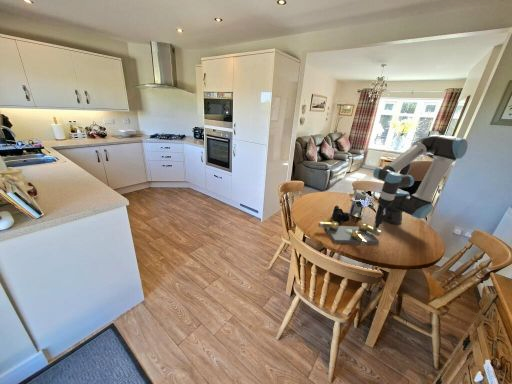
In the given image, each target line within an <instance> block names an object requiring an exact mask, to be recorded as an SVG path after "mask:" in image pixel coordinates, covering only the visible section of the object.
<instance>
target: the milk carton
mask: <svg viewBox="0 0 512 384" xmlns="http://www.w3.org/2000/svg"><path fill="white" fill-rule="evenodd" d="M366 194H367V193H366V192H365V191H364V190H362V191H361V190H359V189H355V193H354V196H353V199H354V198H355V200H360V199H361V200H364V201H366V199H367V195H366ZM363 208H364V206H363V207H358V206H357V204H356V203H355V201H353V200H352V203H351V207H350V210H349V215H350V217H352V216H353V215H354V214H356V213H359V214H360V216H362V211H363Z"/></svg>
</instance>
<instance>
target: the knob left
mask: <svg viewBox="0 0 512 384" xmlns="http://www.w3.org/2000/svg"><path fill="white" fill-rule="evenodd" d="M351 237H352V238H353V239H356V240H358V241H359V242H360V243H359V244H360V245H361V246H362V247H366V246H367V245H368V244H367V241H366V240H365V239H364V238H363V237H362V236H361V232H360V231H359V230H355V229H354V230H352V233H351Z"/></svg>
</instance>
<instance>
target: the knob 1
mask: <svg viewBox="0 0 512 384" xmlns="http://www.w3.org/2000/svg"><path fill="white" fill-rule="evenodd" d="M318 223H319V224H318V227H319V228H323V229H325V228H330V229H331V230H333V231H337V230H338V227H339V223H338V222H335V221H334V220H332V221H331V222H327V221H319V222H318Z"/></svg>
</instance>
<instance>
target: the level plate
mask: <svg viewBox="0 0 512 384" xmlns="http://www.w3.org/2000/svg"><path fill="white" fill-rule="evenodd" d="M324 229H325V231H326V232H327V234H328V235H329V237H330V238H331V240H332V241H333V243H334V244H335V243H336V244H337V243H339V244H360V242H359V241H358V240H356V239H353V238H352V237H351V233H352V230H354V229H355V230H359V226H355V225H354V226H351V225H350V226H347V225H346V226H345V225H340V226H339V227H338V230H337V231H333V230H331V229H330V228H324ZM359 231H360V232H361V236H362V237H363V238H364V239H365V240H366V241H367V244H366V245H379V243H380V240H379V239H377V236H376V235H375V234H373V233H371V232H368V231H367V232H363V231H361V230H359Z"/></svg>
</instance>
